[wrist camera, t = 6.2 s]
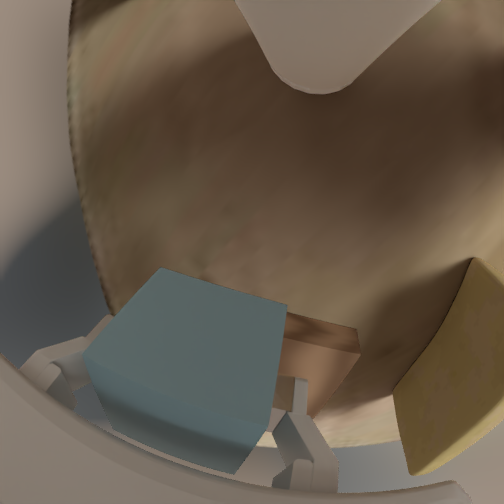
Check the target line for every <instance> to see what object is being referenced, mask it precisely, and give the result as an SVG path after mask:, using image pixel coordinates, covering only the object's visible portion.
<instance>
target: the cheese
mask: <svg viewBox="0 0 504 504" xmlns="http://www.w3.org/2000/svg"><path fill="white" fill-rule="evenodd" d="M393 399H394V405H395V411H396V418H397V423H398V428H399V433H400V437H401V441H402V445H403V449H404V453H405V457H406V461H407V466H408V470H409V473H410V475H413V476H417V475H423V474H427V473H429V472H431V471H433V470H435V469H437V468H439V467H440V466H442V465H443V464H445V463H446V462H448V461H449V460H451V459H452V458H454V457H455V456H457V455H458V454H460V453H461V452H463V451H464V450H466V449H467V448H468V447H470V446H471V445H473V444H474V443H475V442H477V441H478V440H479V439H481V438H482V437H483V436H484V435H485V434H487V433H488V432H489V431H491V430H492V429H493V428H494V427H495V426H497V425H498V424H499V423H500V422H501V421H502V420H503V419H504V275H503V274H502V273H500V272H499V271H498V270H496V269H495V268H494V267H492V266H491V265H490V264H488V263H487V262H485V261H484V260H482V259H480V258H473V260H472V261H471V263H470V265H469V267H468V270H467V272H466V275H465V277H464V280H463V282H462V284H461V287H460V289H459V291H458V293H457V296H456V298H455V300H454V302H453V304H452V306H451V308H450V310H449V312H448V314H447V316H446V318H445V320H444V321H443V323H442V325H441V327H440V328H439V330H438V332H437V333H436V335H435V336H434V338H433V339H432V341H431V342H430V343H429V345H428V346H427V347H426V349H425V350H424V351H423V352H422V354H421V355H420V356H419V357H418V359H417V360H416V361H415V362H414V364H413V365H412V366H411V367H410V369H409V370H408V371H407V373H406V374H405V375H404V376H403V378H402V379H401V380H400V382H399V383H398V384H397V385H396V387H395V388H394V390H393Z"/></svg>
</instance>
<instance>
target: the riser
mask: <svg viewBox="0 0 504 504" xmlns="http://www.w3.org/2000/svg"><path fill="white" fill-rule="evenodd" d="M360 355H361V351H360V345H359V340H358V335H357V329H354V328H349V327H345V326H340V325H336V324H332V323H328V322H324V321H320V320H315V319H311V318H307V317H303V316H299V315H296V314H292V313H288V312H287V313H286V320H285V327H284V334H283V341H282V348H281V355H280V361H279V368H278V373H282V374H286V375H291V376H294V377H299V378H303V379H307V380H308V396H307V412H306V415H309V416H310V417H311V418H312V420H313V418H314V417H315V416H316V415H317V414H318V412H319V411H320V410H321V409H322V408H323V406H324V405H325V404H326V402H327V401H328V400H329V399H330V397H331V396H332V395H333V393H334V392H335V391H336V389H337V388H338V387H339V385H340V384H341V383H342V381H343V380H344V379H345V377H346V376H347V374H348V373H349V372H350V370H351V369H352V367H353V366H354V364H355V363H356V361H357V360H358V358H359V357H360Z"/></svg>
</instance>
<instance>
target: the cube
mask: <svg viewBox="0 0 504 504" xmlns="http://www.w3.org/2000/svg"><path fill="white" fill-rule="evenodd" d="M286 313H287V305H286V304H282V303H278V302H275V301H271V300H268V299H264V298H260V297H257V296H253V295H250V294H246V293H243V292H240V291H236V290H233V289H229V288H226V287H223V286H219V285H216V284H213V283H209V282H206V281H203V280H200V279H196V278H193V277H190V276H187V275H184V274H181V273H178V272H174V271H171V270H168V269H165V268H162V267H160V268H159V269H158V270H157V271H156V272H155V273H154V274H153V275H152V276H151V278H150V279H149V280H148V281H147V282H146V283H145V284H144V285H143V286H142V287H141V288H140V289H139V290H138V291H137V292H136V293H135V295H134V296H133V297H132V298H131V299H130V300H129V301H128V302H127V303H126V304H125V305H124V307H123V308H122V309H121V310H120V311H119V312H118V313H117V314H116V315H115V316H114V318H113V319H112V320H111V321H110V322H109V323H108V324H107V325H106V327H105V328H104V329H103V330H102V331H101V332H100V333H99V335H98V336H97V337H96V338H95V339H94V340H93V342H92V343H91V344H90V345H89V346H88V347H87V349H86V350H85V351H84V352H83V353H82V356H83V359H84V362H85V365H86V368H87V371H88V373H89V376H90V378H91V381H92V383H93V386H94V388H95V391H96V393H97V396H98V398H99V400H100V402H101V404H102V407H103V409H104V411H105V413H106V416H107V417H108V420H109V422H110V424H111V426H112V428H113V429H114V430H116V431H118V432H120V433H121V434H124V435H126V436H127V437H130V438H132V439H134V440H136V441H138V442H140V443H142V444H145V445H147V446H149V447H152V448H154V449H157V450H159V451H161V452H164V453H166V454H169V455H172V456H174V457H177V458H180V459H182V460H185V461H189V462H191V463H194V464H197V465H201V466H204V467H207V468H211V469H214V470H218V471H221V472H226V473H229V474H233V475H234V474H235V473H236V471H237V470H238V469H239V467H240V466H241V465H242V463H243V462H244V461H245V459H246V458H247V457H248V455H249V454H250V452H251V451H252V450H253V448H254V447H255V445H256V444H257V442H258V441H259V439H260V438H261V437H262V435H263V434H264V432H265V431H266V429H267V428H268V425H269V420H270V415H271V409H272V403H273V398H274V392H275V386H276V380H277V374H278V368H279V361H280V355H281V348H282V341H283V334H284V327H285V320H286Z"/></svg>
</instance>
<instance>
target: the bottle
mask: <svg viewBox="0 0 504 504" xmlns="http://www.w3.org/2000/svg"><path fill="white" fill-rule="evenodd" d="M234 1H235V3H236V4H237V6H238V8H239V9H240V11H241V13H242V14H243V16H244V18H245V20H246V21H247V23H248V25H249V27H250V28H251V30H252V32H253V34H254V36H255V37H256V39H257V41H258V43H259V45H260V47H261V49H262V51H263V53H264V54H265V56H266V58H267V60H268V62H269V64H270V66H271V68H272V70H273V71H274V72H275V74H276V75H277V76H278V77H279V78H280V79H281V81H283V82H285V83H286V84H288V85H289V86H291V87H292V88H294V89H297V90H300V91H303V92H306V93H309V94H328V93H333V92H337V91H340V90H341V89H343V88H345V87H347V86H348V85H350V84H351V83H352V82H353V81H354V80H355V79H356V78H357V77H358V76H359V75H360V74H361V73H362V72H363V71H364V70H365V69H366V68H367V67H368V66H369V65H370V64H372V63H373V62H374V61H375V60H376V59H377V58H378V57H379V56H380V55H381V54H382V53H383V52H384V51H385V50H386V49H387V48H388V47H389V46H390V45H392V44H393V43H394V42H395V41H396V40H397V39H398V38H399V37H400V36H401V35H402V34H404V33H405V32H406V31H407V30H408V29H409V28H410V27H411V26H412V25H414V24H415V23H416V22H417V21H418V20H419V19H420V18H421V17H423V16H424V15H425V14H426V13H427V12H428V11H430V10H431V9H432V8H433V7H434V6H435V5H437V4H438V3H439V2H440V1H441V0H234Z"/></svg>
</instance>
